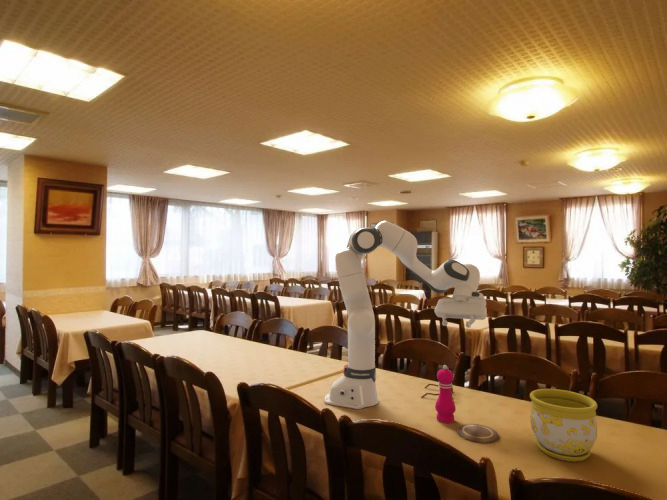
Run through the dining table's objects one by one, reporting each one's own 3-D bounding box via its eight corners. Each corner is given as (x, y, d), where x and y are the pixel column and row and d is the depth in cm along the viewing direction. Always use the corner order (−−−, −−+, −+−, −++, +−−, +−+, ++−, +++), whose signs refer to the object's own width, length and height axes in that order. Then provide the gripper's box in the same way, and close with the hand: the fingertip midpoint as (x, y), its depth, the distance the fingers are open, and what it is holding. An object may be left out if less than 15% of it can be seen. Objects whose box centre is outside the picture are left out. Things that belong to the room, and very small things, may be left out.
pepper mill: (456, 424, 143) (456, 368, 143) (435, 422, 144) (435, 367, 145) (454, 416, 150) (454, 363, 150) (434, 415, 151) (434, 361, 152)
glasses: (452, 402, 167) (452, 390, 167) (420, 398, 171) (420, 386, 171) (453, 392, 179) (453, 380, 179) (423, 388, 183) (423, 377, 183)
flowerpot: (518, 439, 131) (518, 389, 131) (570, 437, 133) (570, 387, 133) (553, 468, 113) (553, 409, 114) (613, 465, 115) (612, 407, 115)
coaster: (458, 440, 130) (458, 437, 130) (456, 424, 143) (456, 421, 143) (501, 444, 127) (501, 441, 127) (494, 427, 140) (494, 425, 140)
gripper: (437, 292, 170) (428, 319, 162) (486, 293, 157) (479, 322, 150) (441, 302, 173) (433, 328, 166) (490, 303, 161) (484, 332, 153)
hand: (455, 325), depth 157 cm, fingers open, 8 cm apart
